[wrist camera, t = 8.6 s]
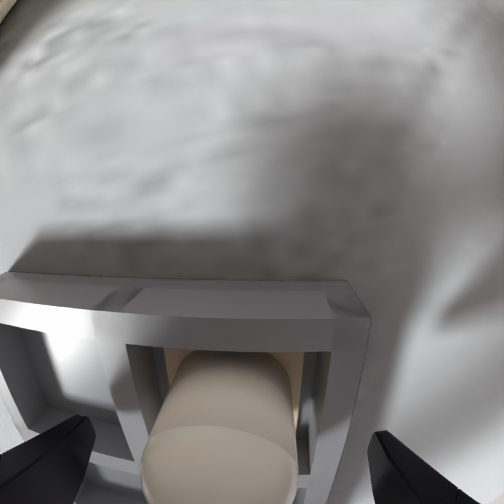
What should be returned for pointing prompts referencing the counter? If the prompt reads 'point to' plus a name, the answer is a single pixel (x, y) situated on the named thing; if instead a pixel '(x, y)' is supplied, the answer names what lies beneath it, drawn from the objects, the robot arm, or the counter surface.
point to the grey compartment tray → (173, 361)
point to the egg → (223, 433)
